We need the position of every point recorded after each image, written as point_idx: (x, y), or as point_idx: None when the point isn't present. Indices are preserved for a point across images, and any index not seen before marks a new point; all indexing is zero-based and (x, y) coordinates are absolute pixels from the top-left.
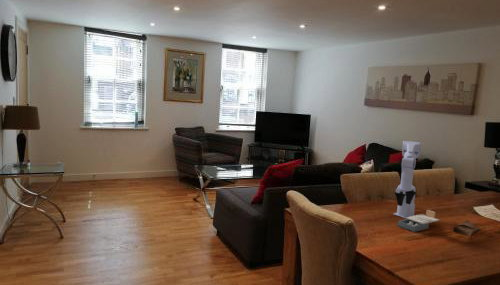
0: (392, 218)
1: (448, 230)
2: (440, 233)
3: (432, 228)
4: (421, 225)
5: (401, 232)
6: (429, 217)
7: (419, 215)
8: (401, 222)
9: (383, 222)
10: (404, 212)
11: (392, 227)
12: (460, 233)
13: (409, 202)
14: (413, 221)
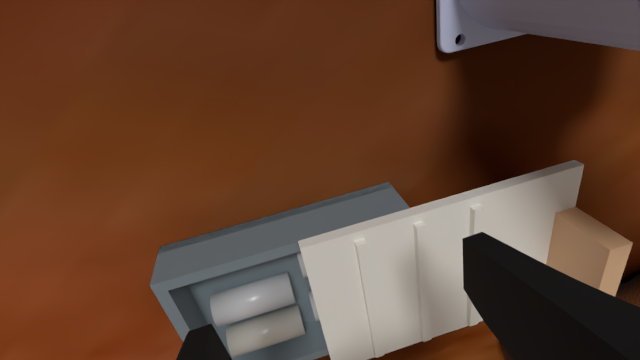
0: (282, 12)
1: None
2: (395, 355)
3: None
4: (317, 353)
5: (103, 357)
6: (533, 255)
7: (505, 201)
8: (166, 312)
9: (48, 130)
10: (498, 12)
11: (81, 267)
12: (504, 353)
13: (484, 314)
14: None
